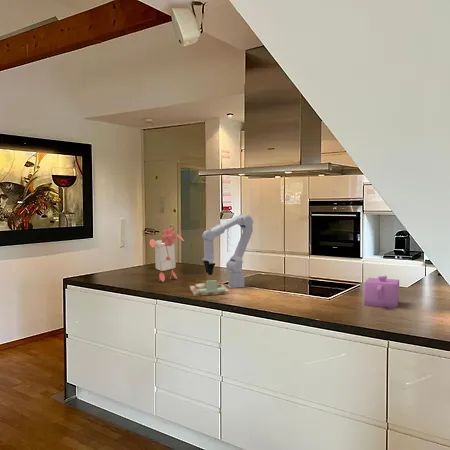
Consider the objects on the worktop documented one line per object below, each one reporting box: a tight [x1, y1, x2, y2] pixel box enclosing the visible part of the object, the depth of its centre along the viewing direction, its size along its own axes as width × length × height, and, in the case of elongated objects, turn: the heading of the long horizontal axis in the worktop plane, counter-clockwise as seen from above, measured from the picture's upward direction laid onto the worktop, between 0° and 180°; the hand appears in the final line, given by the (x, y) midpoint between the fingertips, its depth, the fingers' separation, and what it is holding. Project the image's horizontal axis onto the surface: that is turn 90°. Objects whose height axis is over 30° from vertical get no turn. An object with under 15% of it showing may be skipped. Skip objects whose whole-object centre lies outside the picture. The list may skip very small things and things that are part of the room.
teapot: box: [363, 275, 400, 309], centre depth 238 cm, size 15×25×14 cm, turn 154°
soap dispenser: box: [154, 239, 177, 272], centre depth 352 cm, size 15×14×22 cm
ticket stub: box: [199, 279, 225, 293], centre depth 265 cm, size 14×5×6 cm, turn 101°
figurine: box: [149, 227, 185, 284], centre depth 303 cm, size 15×26×35 cm, turn 136°
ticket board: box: [189, 282, 230, 297], centre depth 274 cm, size 20×20×3 cm
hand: (209, 273), depth 277 cm, fingers open, 7 cm apart
